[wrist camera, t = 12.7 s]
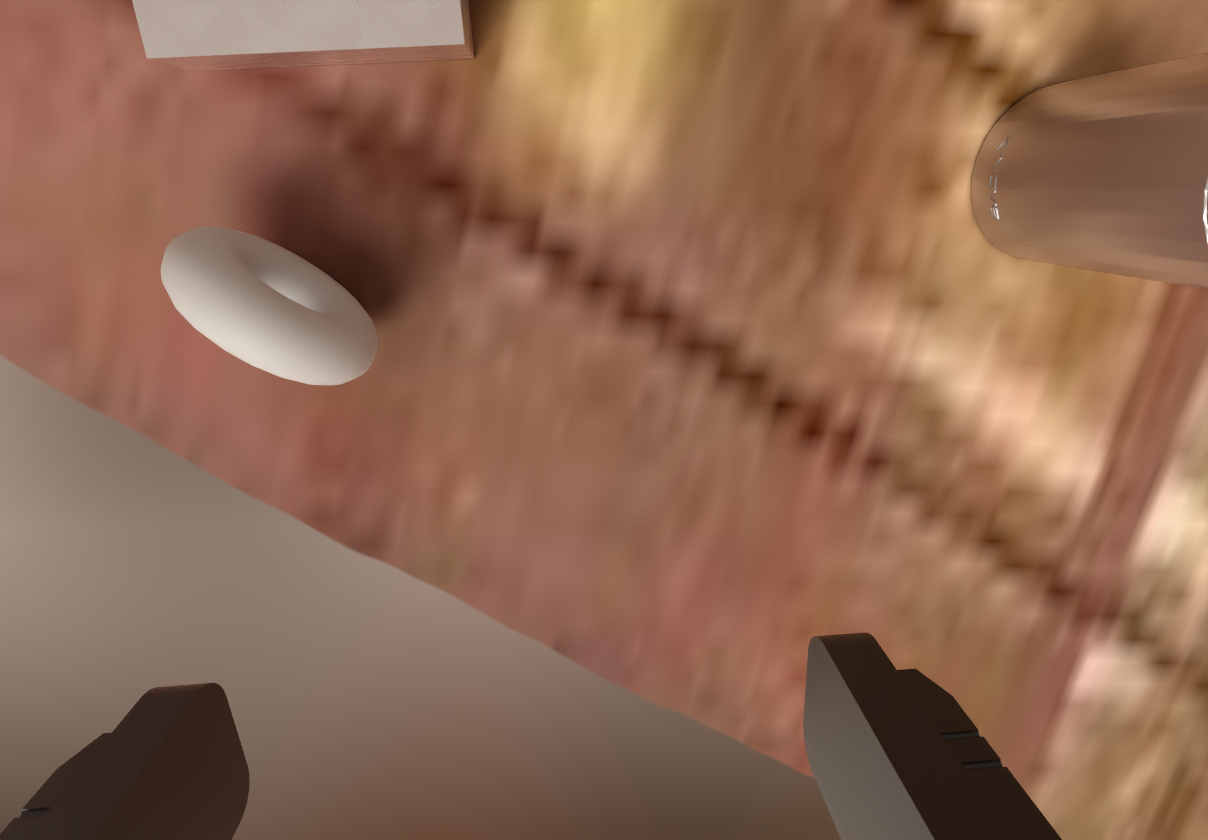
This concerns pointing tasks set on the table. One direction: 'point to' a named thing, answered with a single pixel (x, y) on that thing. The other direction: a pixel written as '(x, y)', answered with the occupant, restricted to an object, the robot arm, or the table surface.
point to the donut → (268, 306)
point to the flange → (302, 32)
